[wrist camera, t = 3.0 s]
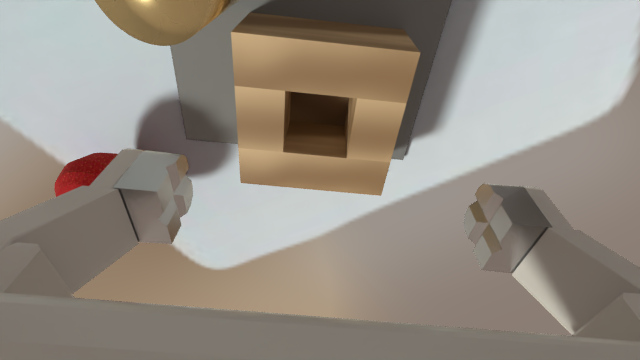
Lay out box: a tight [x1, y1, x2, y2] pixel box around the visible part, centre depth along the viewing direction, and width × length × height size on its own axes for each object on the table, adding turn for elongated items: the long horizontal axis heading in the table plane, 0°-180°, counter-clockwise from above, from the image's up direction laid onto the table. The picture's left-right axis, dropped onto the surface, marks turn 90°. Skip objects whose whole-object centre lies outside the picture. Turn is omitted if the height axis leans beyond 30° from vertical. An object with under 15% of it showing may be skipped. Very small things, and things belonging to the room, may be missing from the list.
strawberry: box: [55, 153, 118, 197], centre depth 25 cm, size 6×8×10 cm
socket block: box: [231, 12, 421, 196], centre depth 22 cm, size 10×10×5 cm
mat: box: [170, 0, 452, 160], centre depth 21 cm, size 22×18×1 cm
